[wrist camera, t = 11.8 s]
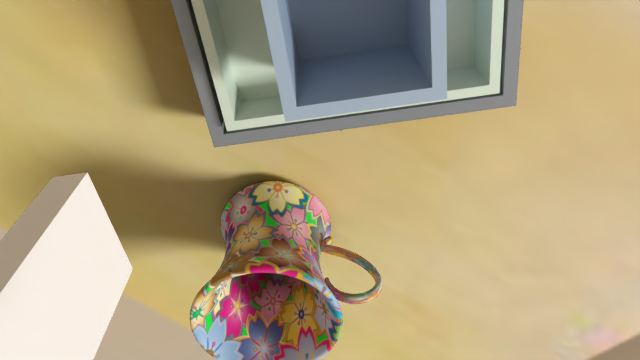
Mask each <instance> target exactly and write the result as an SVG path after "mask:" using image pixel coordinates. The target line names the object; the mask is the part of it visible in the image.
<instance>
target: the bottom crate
mask: <svg viewBox="0 0 640 360" xmlns="http://www.w3.org/2000/svg"><path fill="white" fill-rule="evenodd" d="M523 2H524V0H504V16H503V35H502V55H501V74H500V93H497V94H490V95H483V96H476V97H469V98H462V99H455V100H447V101H440V102H433V103H426V104H419V105H412V106H405V107H398V108H390V109H383V110H376V111H369V112H362V113H355V114H348V115H340V116H333V117H326V118H319V119H312V120H305V121H298V122H291V123H283V124H276V125H269V126H262V127H255V128H248V129H241V130H234V131H227V129H226V126H225V122H224V118H223V115H222V111H221V107H220V104H219V100H218V97H217V93H216V89H215V86H214V82H213V78H212V75H211V71H210V67H209V64H208V60H207V57H206V53H205V49H204V46H203V42H202V38H201V35H200V31H199V28H198V24H197V20H196V17H195V13H194V9H193V6H192V2H191V0H171V4H172V7H173V10H174V14H175V17H176V21H177V24H178V27H179V31H180V34H181V37H182V41H183V44H184V48H185V51H186V54H187V58H188V61H189V64H190V68H191V71H192V74H193V78H194V81H195V85H196V88H197V91H198V95H199V98H200V101H201V105H202V108H203V112H204V115H205V118H206V122H207V125H208V128H209V132H210V135H211V138H212V142H213V145H214V147H221V146H228V145H235V144H243V143H250V142H257V141H264V140H272V139H279V138H286V137H293V136H300V135H308V134H315V133H322V132H329V131H337V130H344V129H351V128H358V127H365V126H373V125H380V124H387V123H394V122H402V121H409V120H416V119H423V118H431V117H438V116H445V115H452V114H459V113H467V112H474V111H481V110H488V109H496V108H503V107H510V106H516V100H517V86H518V72H519V58H520V44H521V30H522V16H523Z"/></svg>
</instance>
